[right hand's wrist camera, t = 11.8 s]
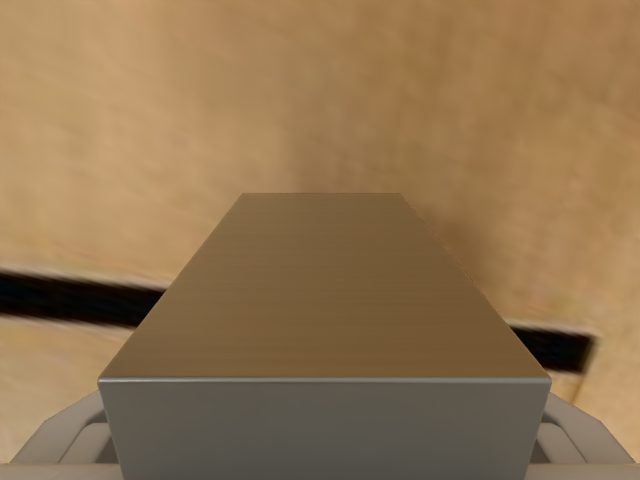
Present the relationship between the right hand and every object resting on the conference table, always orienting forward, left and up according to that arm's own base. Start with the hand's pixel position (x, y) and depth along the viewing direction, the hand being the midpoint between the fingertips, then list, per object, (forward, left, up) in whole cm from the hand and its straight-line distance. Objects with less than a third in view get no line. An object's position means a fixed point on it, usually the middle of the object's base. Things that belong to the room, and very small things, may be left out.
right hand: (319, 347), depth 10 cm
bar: (+9, -3, -3) cm, 10 cm away
